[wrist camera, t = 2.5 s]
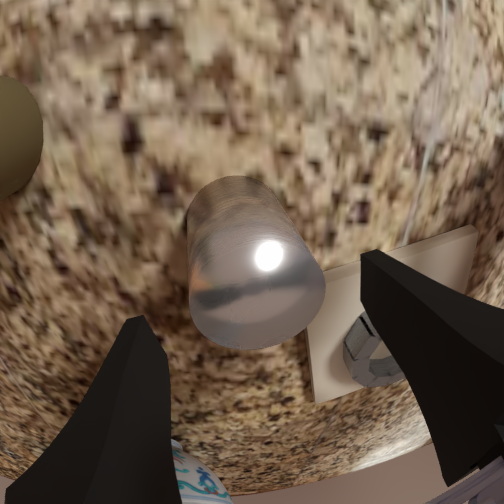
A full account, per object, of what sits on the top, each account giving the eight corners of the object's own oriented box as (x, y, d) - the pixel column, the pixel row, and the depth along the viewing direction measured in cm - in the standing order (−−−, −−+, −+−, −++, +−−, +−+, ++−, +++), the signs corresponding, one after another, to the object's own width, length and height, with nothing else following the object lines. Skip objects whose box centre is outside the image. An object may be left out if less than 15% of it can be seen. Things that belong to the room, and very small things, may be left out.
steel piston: (271, 165, 14) (320, 225, 9) (286, 246, 17) (328, 328, 12) (174, 191, 14) (169, 267, 9) (202, 270, 17) (212, 361, 12)
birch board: (470, 223, 18) (479, 231, 18) (440, 343, 26) (445, 351, 25) (296, 279, 18) (302, 290, 17) (312, 395, 25) (315, 404, 24)
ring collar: (451, 267, 19) (466, 283, 17) (431, 345, 23) (441, 360, 22) (342, 307, 18) (354, 328, 17) (342, 381, 23) (350, 399, 22)
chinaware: (182, 477, 32) (189, 530, 26) (64, 449, 26) (59, 510, 19) (254, 431, 27) (271, 503, 21) (96, 391, 21) (88, 484, 14)
